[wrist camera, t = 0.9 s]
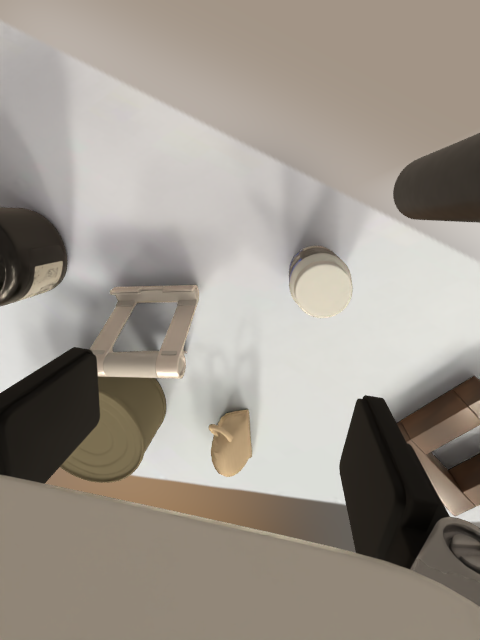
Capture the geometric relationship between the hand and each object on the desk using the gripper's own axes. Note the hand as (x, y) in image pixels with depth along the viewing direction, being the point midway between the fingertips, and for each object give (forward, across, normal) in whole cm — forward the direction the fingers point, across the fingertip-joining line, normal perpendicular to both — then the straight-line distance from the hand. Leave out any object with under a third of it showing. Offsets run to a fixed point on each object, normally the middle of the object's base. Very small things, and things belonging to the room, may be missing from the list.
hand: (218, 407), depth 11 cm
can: (+21, +15, +17) cm, 31 cm away
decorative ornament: (+21, +1, +18) cm, 28 cm away
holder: (+21, -23, +14) cm, 34 cm away
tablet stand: (+21, +10, +6) cm, 24 cm away
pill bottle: (+21, -5, -2) cm, 22 cm away
